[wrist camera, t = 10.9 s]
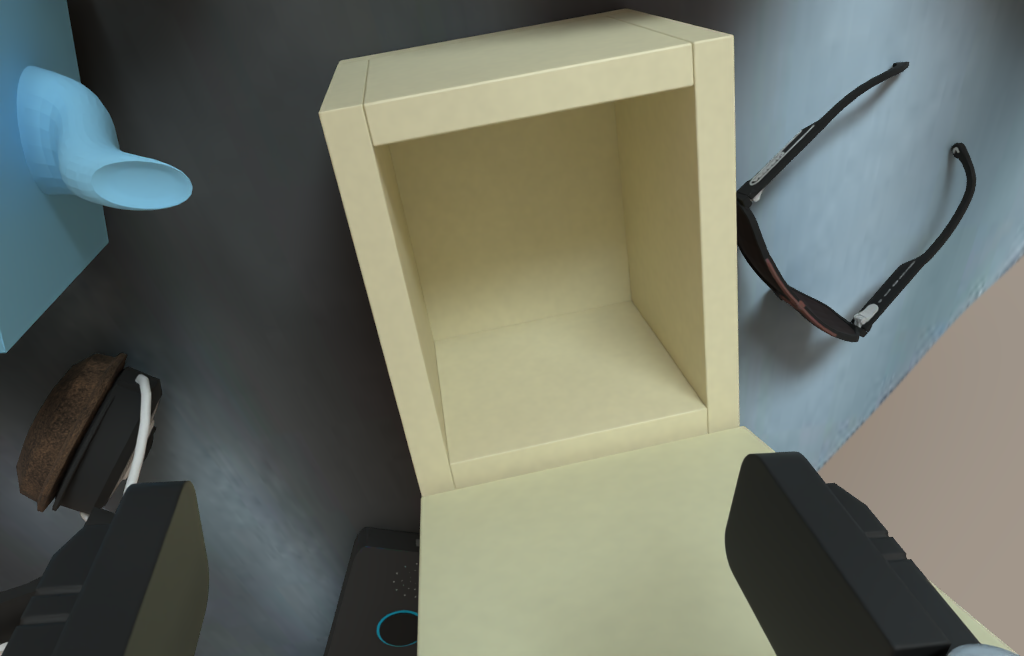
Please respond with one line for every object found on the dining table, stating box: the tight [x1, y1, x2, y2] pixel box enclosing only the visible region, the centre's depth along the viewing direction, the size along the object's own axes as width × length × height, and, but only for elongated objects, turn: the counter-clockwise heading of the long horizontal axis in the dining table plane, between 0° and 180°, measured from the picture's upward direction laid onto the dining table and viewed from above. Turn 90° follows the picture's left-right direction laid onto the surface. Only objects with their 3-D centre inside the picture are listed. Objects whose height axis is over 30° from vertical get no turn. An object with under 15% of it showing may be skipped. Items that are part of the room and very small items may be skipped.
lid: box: [417, 426, 1016, 656], centre depth 22 cm, size 16×13×5 cm
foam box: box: [319, 8, 739, 497], centre depth 31 cm, size 15×13×11 cm
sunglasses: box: [736, 62, 976, 342], centre depth 36 cm, size 10×12×5 cm
